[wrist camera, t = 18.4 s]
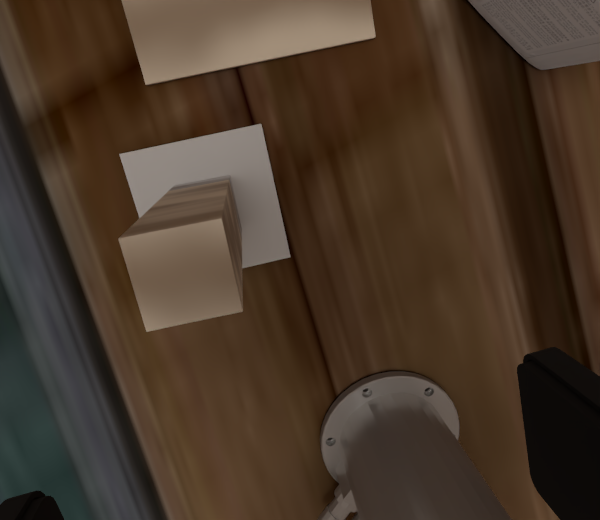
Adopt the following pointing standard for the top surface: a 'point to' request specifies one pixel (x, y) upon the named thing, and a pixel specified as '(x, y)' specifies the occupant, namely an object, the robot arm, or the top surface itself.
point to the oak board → (237, 32)
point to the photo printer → (547, 29)
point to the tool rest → (210, 164)
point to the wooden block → (187, 255)
